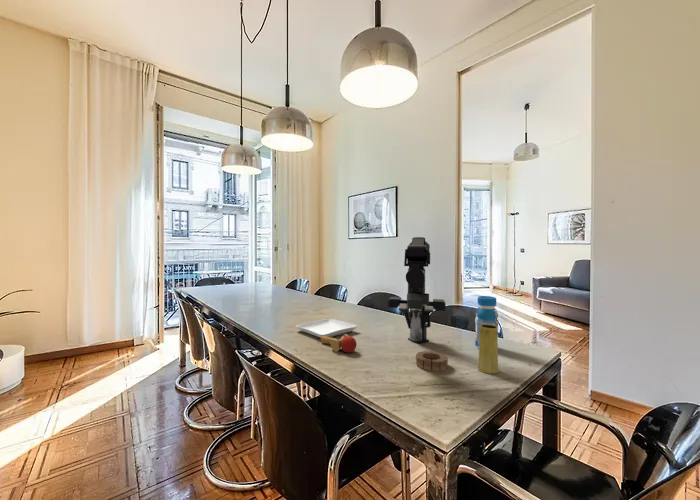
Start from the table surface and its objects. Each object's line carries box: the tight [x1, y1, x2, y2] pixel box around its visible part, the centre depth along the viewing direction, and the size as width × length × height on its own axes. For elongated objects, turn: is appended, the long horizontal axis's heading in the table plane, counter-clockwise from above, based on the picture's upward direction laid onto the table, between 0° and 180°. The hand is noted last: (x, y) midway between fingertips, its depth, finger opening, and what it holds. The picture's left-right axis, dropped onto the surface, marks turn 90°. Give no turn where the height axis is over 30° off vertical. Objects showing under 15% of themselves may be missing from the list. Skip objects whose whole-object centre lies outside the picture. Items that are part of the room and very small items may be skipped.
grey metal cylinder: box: [409, 309, 422, 342], centre depth 102 cm, size 4×4×10 cm
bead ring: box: [415, 350, 449, 372], centre depth 102 cm, size 10×10×3 cm
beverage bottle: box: [474, 295, 500, 349], centre depth 119 cm, size 8×8×20 cm
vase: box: [477, 324, 500, 375], centre depth 98 cm, size 6×6×14 cm
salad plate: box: [295, 317, 358, 339], centre depth 140 cm, size 21×21×3 cm
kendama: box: [320, 333, 358, 354], centre depth 118 cm, size 8×6×18 cm
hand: (416, 328), depth 102 cm, fingers closed on grey metal cylinder, 4 cm apart
